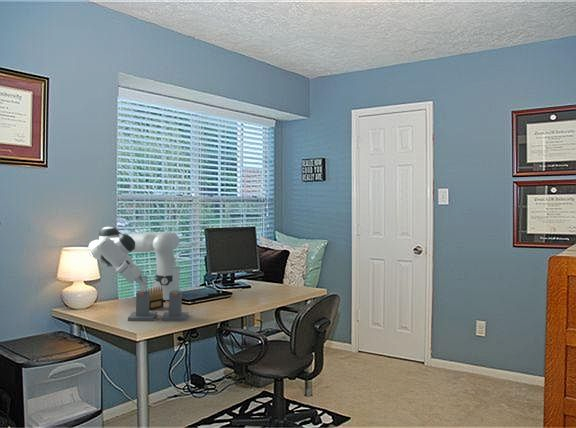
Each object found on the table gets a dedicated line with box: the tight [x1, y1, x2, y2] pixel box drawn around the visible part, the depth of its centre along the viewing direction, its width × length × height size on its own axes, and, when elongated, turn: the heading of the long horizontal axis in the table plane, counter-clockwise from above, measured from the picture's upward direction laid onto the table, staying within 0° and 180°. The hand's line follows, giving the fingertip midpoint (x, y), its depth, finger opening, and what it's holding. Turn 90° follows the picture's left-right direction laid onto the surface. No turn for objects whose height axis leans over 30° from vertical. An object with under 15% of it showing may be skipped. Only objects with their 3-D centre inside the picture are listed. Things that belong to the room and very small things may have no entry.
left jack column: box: [139, 275, 148, 293], centre depth 252 cm, size 3×3×17 cm
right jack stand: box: [160, 265, 189, 322], centre depth 253 cm, size 12×12×26 cm
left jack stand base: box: [127, 290, 158, 322], centre depth 252 cm, size 12×12×13 cm
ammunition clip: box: [147, 286, 164, 311], centre depth 272 cm, size 11×2×12 cm, turn 146°
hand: (144, 284), depth 252 cm, fingers closed on left jack column, 3 cm apart
